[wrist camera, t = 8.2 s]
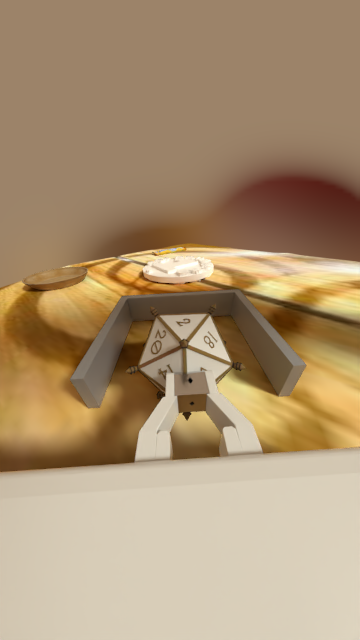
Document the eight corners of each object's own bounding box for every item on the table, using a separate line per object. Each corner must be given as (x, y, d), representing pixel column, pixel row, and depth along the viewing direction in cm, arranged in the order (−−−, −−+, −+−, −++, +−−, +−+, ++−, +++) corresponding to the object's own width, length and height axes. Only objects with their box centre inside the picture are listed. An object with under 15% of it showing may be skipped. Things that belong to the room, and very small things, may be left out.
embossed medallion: (142, 269, 54) (140, 259, 52) (198, 262, 57) (198, 253, 56) (147, 291, 37) (144, 278, 36) (225, 280, 41) (226, 268, 39)
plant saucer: (74, 272, 53) (71, 264, 52) (101, 279, 46) (98, 269, 44) (19, 287, 43) (13, 278, 42) (42, 299, 36) (35, 288, 34)
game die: (195, 421, 17) (207, 479, 7) (131, 372, 18) (74, 366, 9) (236, 348, 19) (287, 319, 9) (176, 311, 21) (169, 255, 11)
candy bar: (182, 250, 79) (182, 245, 78) (187, 251, 76) (187, 246, 75) (151, 255, 71) (151, 251, 70) (156, 257, 68) (156, 252, 67)
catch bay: (289, 395, 15) (306, 365, 12) (88, 408, 14) (69, 379, 12) (235, 311, 27) (239, 289, 25) (127, 318, 27) (121, 296, 25)
